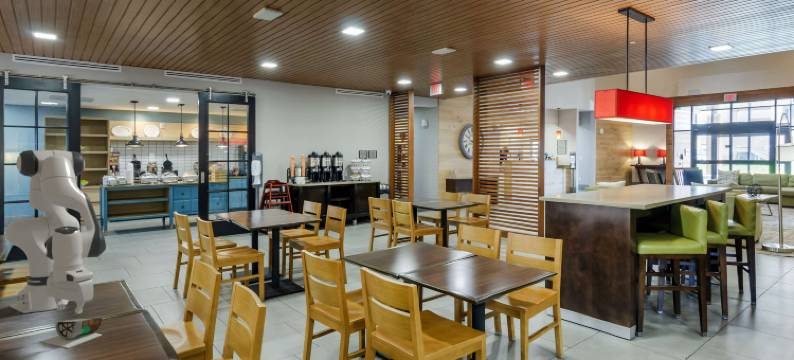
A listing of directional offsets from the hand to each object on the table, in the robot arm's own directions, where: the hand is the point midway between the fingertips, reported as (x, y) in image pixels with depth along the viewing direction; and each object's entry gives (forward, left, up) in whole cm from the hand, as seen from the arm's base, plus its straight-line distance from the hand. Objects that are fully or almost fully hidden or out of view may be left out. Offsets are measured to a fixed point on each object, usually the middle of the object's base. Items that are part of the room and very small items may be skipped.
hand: (69, 311), depth 163 cm
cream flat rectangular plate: (0, 0, -10) cm, 10 cm away
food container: (0, +8, -8) cm, 12 cm away
